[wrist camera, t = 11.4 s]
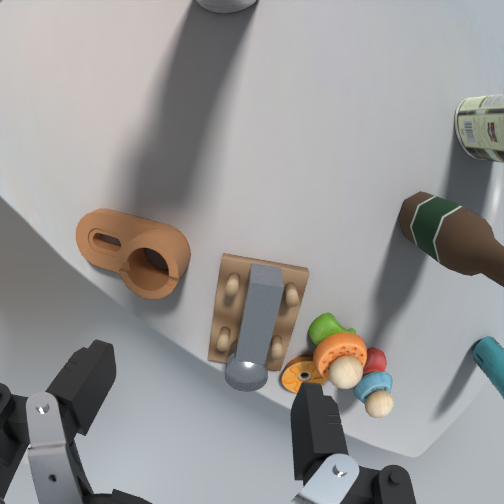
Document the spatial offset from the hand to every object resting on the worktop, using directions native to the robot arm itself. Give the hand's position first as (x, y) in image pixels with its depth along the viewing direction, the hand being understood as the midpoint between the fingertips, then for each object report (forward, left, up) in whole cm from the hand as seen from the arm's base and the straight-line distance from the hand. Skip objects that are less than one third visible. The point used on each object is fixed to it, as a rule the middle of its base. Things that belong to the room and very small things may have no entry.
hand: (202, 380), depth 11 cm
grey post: (+13, +4, -28) cm, 31 cm away
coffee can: (-22, +33, -30) cm, 50 cm away
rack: (+15, +4, -30) cm, 34 cm away
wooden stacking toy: (+22, +20, -30) cm, 43 cm away
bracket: (+7, -16, -30) cm, 35 cm away
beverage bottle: (+17, +54, -30) cm, 64 cm away
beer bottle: (-5, +25, -30) cm, 40 cm away
